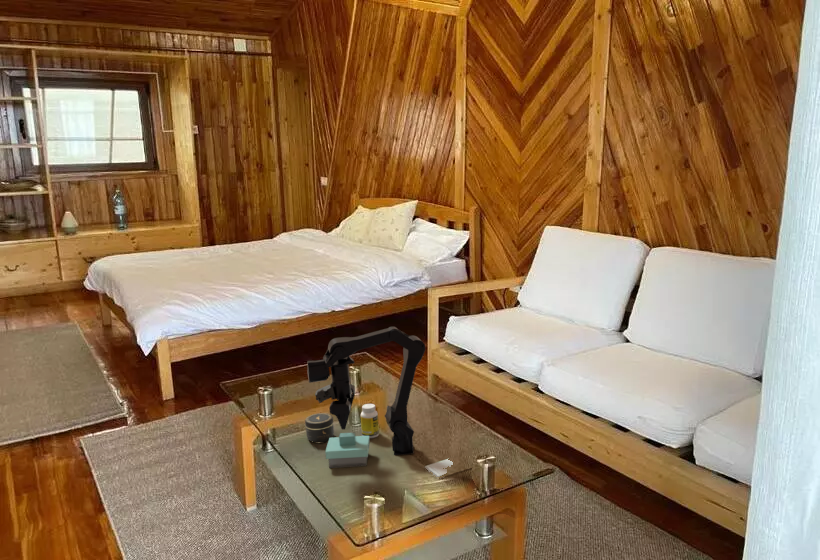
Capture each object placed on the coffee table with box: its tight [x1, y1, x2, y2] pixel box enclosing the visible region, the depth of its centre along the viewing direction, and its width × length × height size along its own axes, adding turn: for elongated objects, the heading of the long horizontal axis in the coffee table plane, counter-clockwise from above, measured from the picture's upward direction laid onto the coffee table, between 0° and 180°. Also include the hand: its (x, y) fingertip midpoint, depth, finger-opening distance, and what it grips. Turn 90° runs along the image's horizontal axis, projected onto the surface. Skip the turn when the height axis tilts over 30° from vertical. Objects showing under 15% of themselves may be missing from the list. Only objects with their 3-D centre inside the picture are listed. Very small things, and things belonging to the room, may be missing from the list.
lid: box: [325, 432, 371, 460], centre depth 200 cm, size 13×10×6 cm
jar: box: [304, 412, 335, 443], centre depth 219 cm, size 10×10×8 cm
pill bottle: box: [360, 403, 380, 439], centre depth 219 cm, size 6×6×11 cm
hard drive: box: [424, 458, 453, 478], centre depth 192 cm, size 2×8×12 cm
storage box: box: [328, 456, 369, 469], centre depth 201 cm, size 12×9×5 cm
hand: (345, 423), depth 200 cm, fingers open, 9 cm apart
